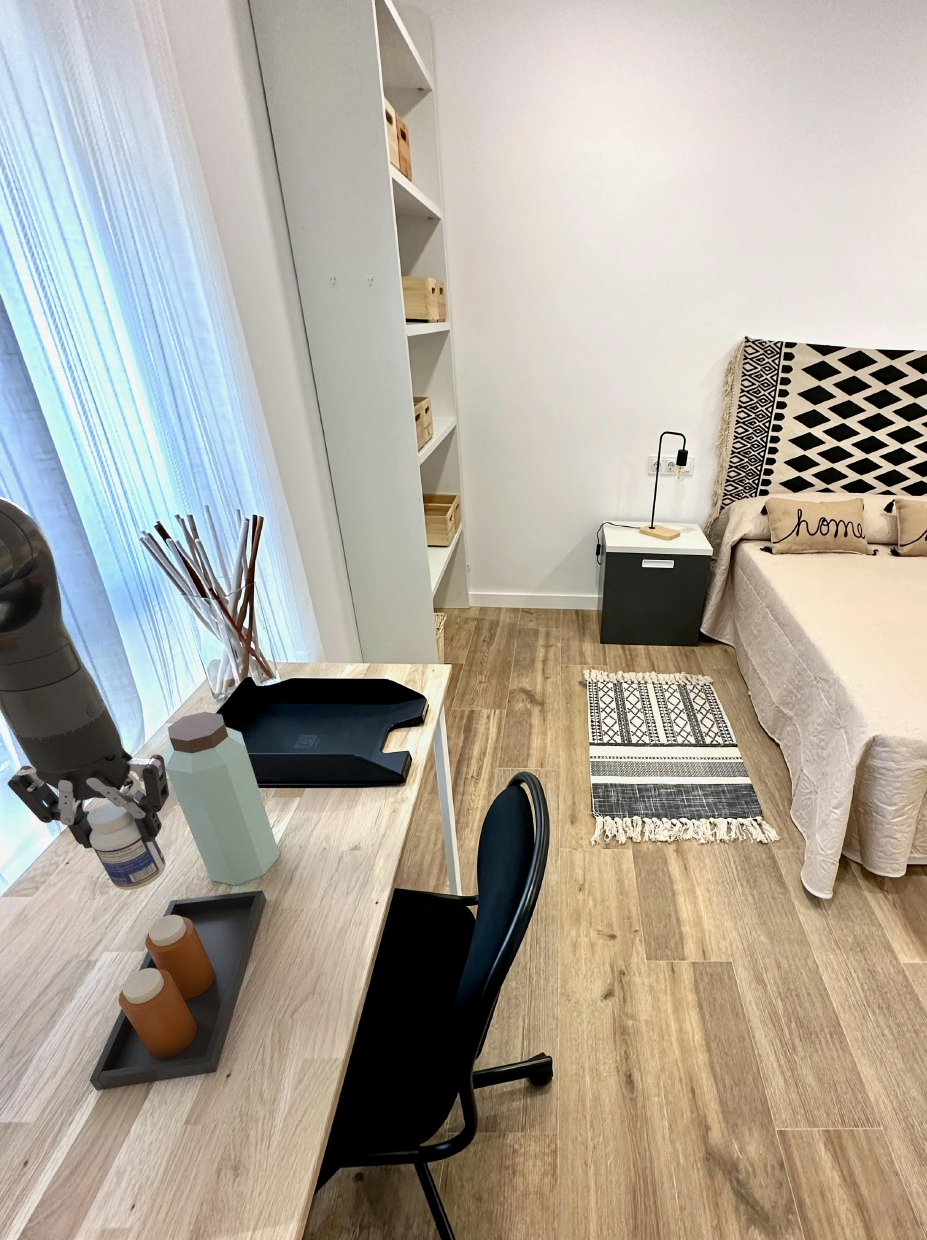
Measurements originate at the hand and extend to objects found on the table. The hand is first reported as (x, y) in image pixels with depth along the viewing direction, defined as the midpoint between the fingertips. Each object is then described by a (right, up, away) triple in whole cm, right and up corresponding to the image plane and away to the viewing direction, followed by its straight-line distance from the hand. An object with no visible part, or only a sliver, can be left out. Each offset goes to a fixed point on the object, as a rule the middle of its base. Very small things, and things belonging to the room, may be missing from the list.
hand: (123, 839), depth 70 cm
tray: (+4, -19, +7) cm, 21 cm away
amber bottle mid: (+4, -19, +6) cm, 20 cm away
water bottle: (+2, -9, +23) cm, 25 cm away
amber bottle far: (+5, -22, 0) cm, 23 cm away
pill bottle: (0, -5, +3) cm, 6 cm away
